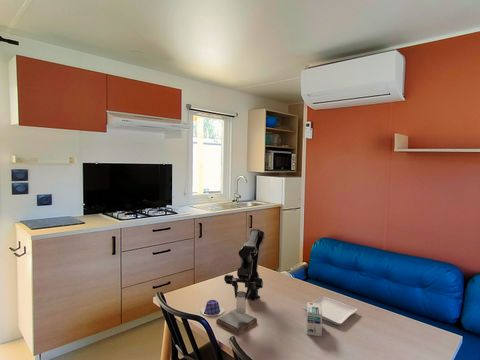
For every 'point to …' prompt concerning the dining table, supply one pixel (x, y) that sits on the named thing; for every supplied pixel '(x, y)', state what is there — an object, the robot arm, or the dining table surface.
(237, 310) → the beige grey cylinder
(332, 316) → the salad plate
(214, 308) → the pudding
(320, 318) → the light bulb box
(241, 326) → the walnut stand
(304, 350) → the dining table surface
